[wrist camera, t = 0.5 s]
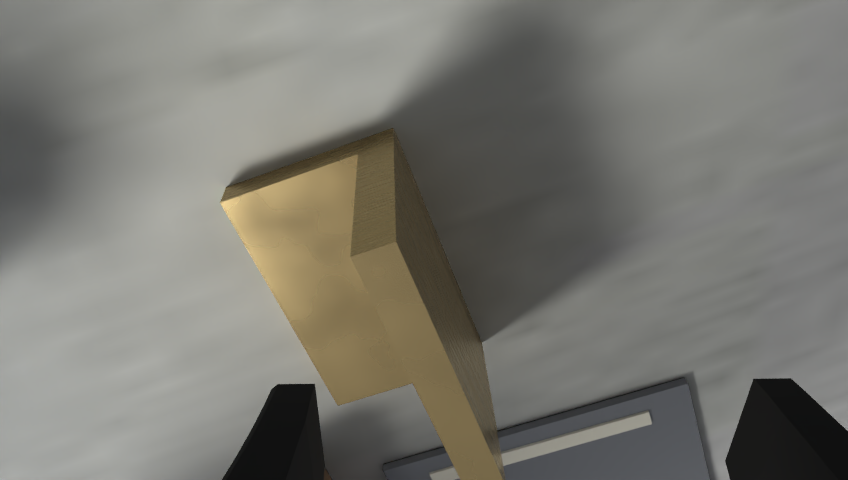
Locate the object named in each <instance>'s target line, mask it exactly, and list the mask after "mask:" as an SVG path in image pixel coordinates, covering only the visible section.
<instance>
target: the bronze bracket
mask: <svg viewBox="0 0 848 480" xmlns="http://www.w3.org/2000/svg"><path fill="white" fill-rule="evenodd" d="M220 203H221V205H222V207H223V209H224V210H225V212H226V214H227V216H228V217H229V219H230V221H231V222H232V224H233V226H234V228H235V229H236V231H237V233H238V234H239V236H240V238H241V240H242V241H243V243H244V245H245V247H246V248H247V250H248V252H249V253H250V255H251V257H252V259H253V260H254V262H255V264H256V266H257V267H258V269H259V271H260V272H261V274H262V276H263V278H264V279H265V281H266V283H267V284H268V286H269V288H270V290H271V291H272V293H273V295H274V297H275V298H276V300H277V302H278V303H279V305H280V307H281V309H282V310H283V312H284V314H285V315H286V317H287V319H288V321H289V322H290V324H291V326H292V328H293V329H294V331H295V333H296V334H297V336H298V338H299V340H300V341H301V343H302V345H303V347H304V348H305V350H306V352H307V353H308V355H309V357H310V359H311V360H312V362H313V364H314V365H315V367H316V369H317V371H318V372H319V374H320V376H321V378H322V379H323V381H324V383H325V384H326V386H327V388H328V390H329V391H330V393H331V395H332V397H333V398H334V400H335V402H336V403H337V405H338V406H339V405H342V404H345V403H349V402H352V401H355V400H359V399H362V398H365V397H369V396H372V395H375V394H378V393H382V392H385V391H388V390H392V389H395V388H398V387H401V386H405V385H408V384H411V383H413V385H414V387H415V389H416V391H417V393H418V395H419V397H420V399H421V401H422V403H423V405H424V407H425V409H426V411H427V413H428V415H429V417H430V419H431V421H432V423H433V425H434V427H435V429H436V431H437V433H438V435H439V437H440V439H441V441H442V443H443V445H444V447H445V449H446V451H447V453H448V455H449V458H450V460H451V462H452V464H453V466H454V468H455V470H456V472H457V474H458V476H459V478H460V480H506V479H505V473H504V467H503V462H502V456H501V450H500V444H499V439H498V433H497V427H496V422H495V416H494V410H493V404H492V399H491V393H490V387H489V382H488V376H487V370H486V364H485V359H484V353H483V347H482V342H481V340H480V337H479V335H478V333H477V330H476V328H475V325H474V323H473V320H472V318H471V316H470V313H469V311H468V308H467V306H466V303H465V301H464V299H463V296H462V294H461V291H460V289H459V286H458V284H457V282H456V279H455V277H454V274H453V272H452V269H451V267H450V265H449V262H448V260H447V257H446V255H445V253H444V250H443V248H442V245H441V243H440V240H439V238H438V236H437V233H436V231H435V228H434V226H433V223H432V221H431V219H430V216H429V214H428V211H427V209H426V206H425V204H424V202H423V199H422V197H421V194H420V192H419V189H418V187H417V185H416V182H415V180H414V177H413V175H412V172H411V170H410V168H409V165H408V163H407V160H406V158H405V155H404V153H403V151H402V148H401V146H400V143H399V141H398V138H397V136H396V134H395V131H394V129H393V128H392V129H389V130H386V131H383V132H381V133H378V134H375V135H372V136H369V137H366V138H364V139H361V140H358V141H355V142H352V143H350V144H347V145H344V146H341V147H338V148H336V149H333V150H330V151H327V152H324V153H322V154H319V155H316V156H313V157H310V158H307V159H305V160H302V161H299V162H296V163H293V164H291V165H288V166H285V167H282V168H279V169H277V170H274V171H271V172H268V173H265V174H263V175H260V176H257V177H254V178H251V179H248V180H246V181H243V182H240V183H237V184H234V185H232V186H229V187H226V189H225V192H224V194H223V197H222V199H221V202H220Z"/></svg>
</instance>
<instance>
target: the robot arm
mask: <svg viewBox="0 0 848 480" xmlns="http://www.w3.org/2000/svg"><path fill="white" fill-rule="evenodd" d="M725 462H726V465H727V469H728V473H729V476H730V480H848V431H847V430H846V429H845V428H844V427H843V426H842V425H840V424H839V423H838V422H837V421H836V420H835V419H834V418H833V417H832V416H831V415H830V414H829V413H828V412H827V411H826V410H824V409H823V408H822V407H821V406H820V405H819V404H818V403H817V402H816V401H815V400H814V399H813V398H812V397H811V396H810V395H808V394H807V393H806V392H805V391H804V390H803V389H802V388H801V387H800V386H799V385H797V384H796V383H795V382H794V381H793V380H792V379H791V378H789V379H753V382H752V385H751V388H750V391H749V394H748V397H747V400H746V403H745V405H744V408H743V411H742V414H741V417H740V420H739V423H738V426H737V429H736V431H735V434H734V437H733V440H732V443H731V446H730V449H729V452H728V455H727V457H726V460H725ZM324 469H325V464H324V456H323V448H322V439H321V431H320V423H319V415H318V407H317V398H316V390H315V384H278V385H276V386H275V387H274V388H273V389H271V392H270V394H269V396H268V398H267V400H266V402H265V405H264V407H263V408H262V410H261V412H260V414H259V416H258V418H257V420H256V422H255V424H254V426H253V428H252V430H251V431H250V433H249V435H248V437H247V439H246V440H245V442H244V444H243V446H242V447H241V449H240V451H239V453H238V455H237V456H236V458H235V459H234V461H233V463H232V464H231V466H230V468H229V469H228V471H227V472H226V474H225V476H224V477H223V479H222V480H324Z"/></svg>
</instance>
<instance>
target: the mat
mask: <svg viewBox="0 0 848 480" xmlns="http://www.w3.org/2000/svg"><path fill="white" fill-rule="evenodd" d="M497 433H498V439H499V444H500V450H501V456H502V462H503V467H504V473H505V479H506V480H710V478H709V473H708V469H707V464H706V460H705V456H704V451H703V447H702V443H701V438H700V434H699V429H698V425H697V421H696V416H695V412H694V407H693V403H692V399H691V394H690V390H689V386H688V383H687V381H686V379H685V378H682V379H678V380H675V381H671V382H668V383H664V384H661V385H657V386H654V387H651V388H647V389H644V390H640V391H637V392H633V393H630V394H626V395H623V396H619V397H616V398H612V399H609V400H605V401H602V402H599V403H595V404H592V405H588V406H585V407H581V408H578V409H574V410H571V411H567V412H564V413H560V414H557V415H554V416H550V417H547V418H543V419H540V420H536V421H533V422H529V423H526V424H522V425H519V426H515V427H512V428H509V429H505V430H502V431H498V432H497ZM383 472H384V474H385V475H386V477H387V479H388V480H460V478H459V476H458V474H457V472H456V470H455V468H454V466H453V464H452V462H451V460H450V458H449V455H448V453H447V451H446V449H445V447H443V448H439V449H436V450H432V451H429V452H425V453H422V454H418V455H415V456H412V457H408V458H405V459H401V460H398V461H394V462H391V463H387V464H384V465H383Z"/></svg>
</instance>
